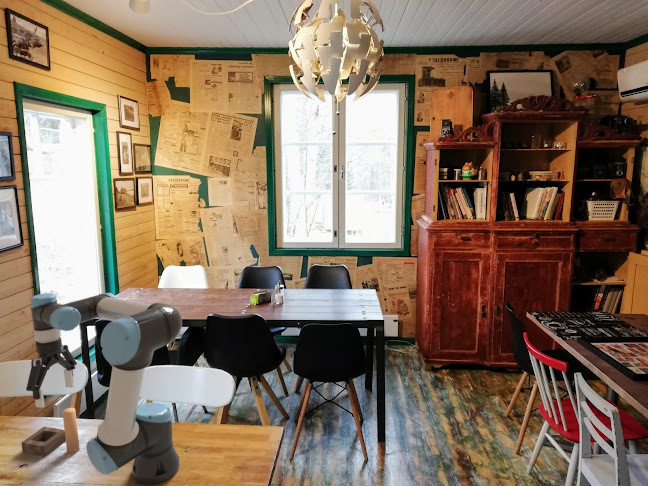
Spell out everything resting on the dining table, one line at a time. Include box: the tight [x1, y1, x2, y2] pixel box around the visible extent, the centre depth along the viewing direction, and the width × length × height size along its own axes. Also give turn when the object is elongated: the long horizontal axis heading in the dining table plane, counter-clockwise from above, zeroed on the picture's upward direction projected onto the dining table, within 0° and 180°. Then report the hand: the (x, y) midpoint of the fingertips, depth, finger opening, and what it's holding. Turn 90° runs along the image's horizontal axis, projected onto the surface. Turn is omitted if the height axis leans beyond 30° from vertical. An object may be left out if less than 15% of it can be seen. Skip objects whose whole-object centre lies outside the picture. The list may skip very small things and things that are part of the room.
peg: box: [62, 407, 80, 455], centre depth 164 cm, size 4×4×16 cm
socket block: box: [20, 426, 66, 458], centre depth 168 cm, size 10×10×4 cm
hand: (55, 396), depth 159 cm, fingers open, 13 cm apart
